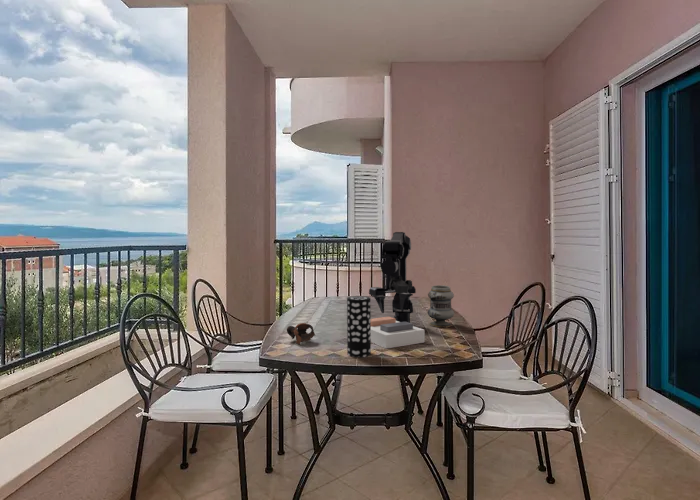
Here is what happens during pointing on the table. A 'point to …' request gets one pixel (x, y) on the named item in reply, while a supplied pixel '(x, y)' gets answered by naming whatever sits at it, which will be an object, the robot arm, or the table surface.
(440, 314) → the apothecary jar
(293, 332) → the brown toy animal
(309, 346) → the table surface
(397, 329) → the dark grey rectangular block
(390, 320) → the salmon orange rectangular block
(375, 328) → the white tray
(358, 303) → the white-spotted black cylinder
